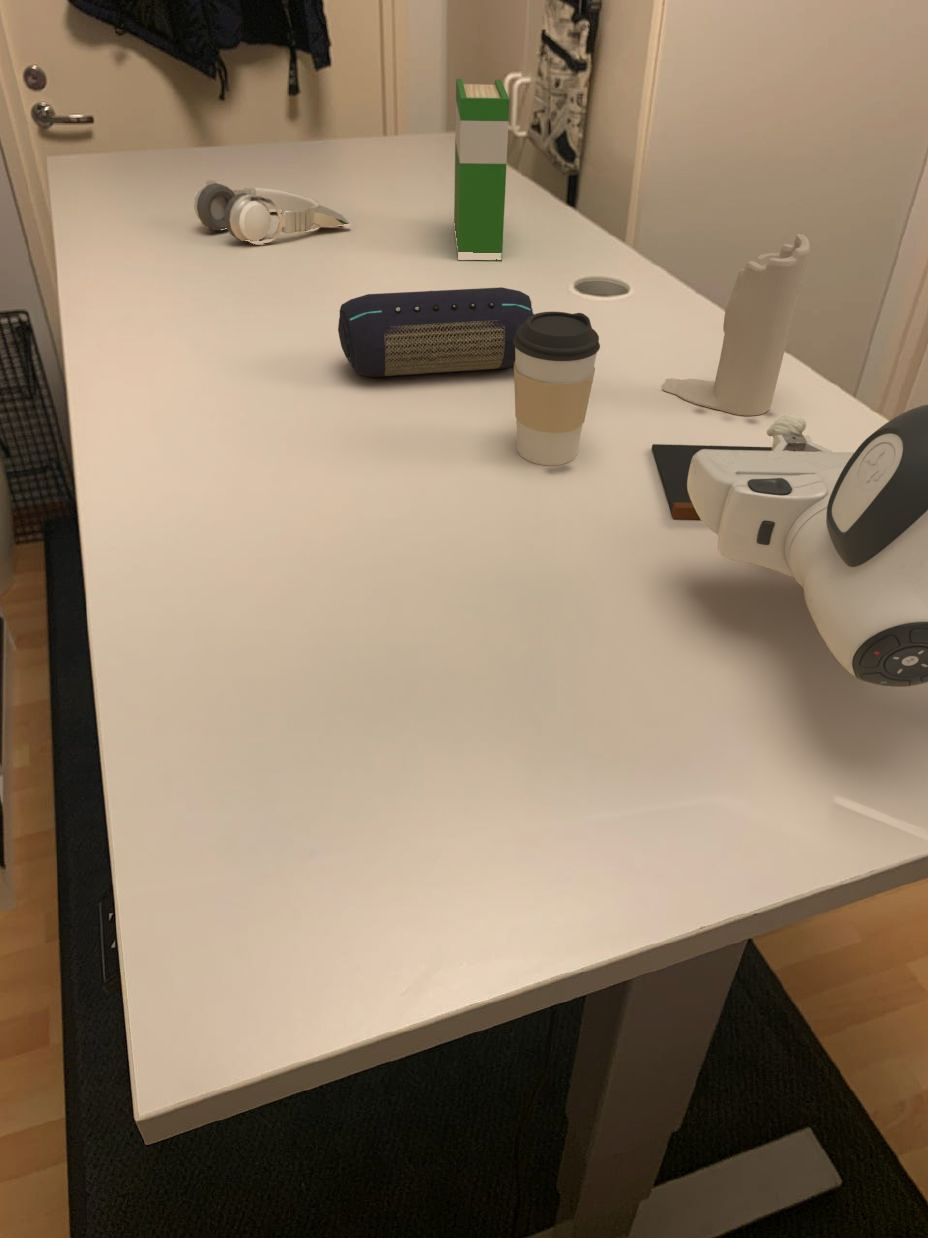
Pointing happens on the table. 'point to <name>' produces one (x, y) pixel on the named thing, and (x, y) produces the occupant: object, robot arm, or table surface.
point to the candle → (752, 334)
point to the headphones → (259, 211)
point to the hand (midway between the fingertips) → (789, 441)
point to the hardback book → (480, 166)
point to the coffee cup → (553, 384)
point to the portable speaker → (432, 330)
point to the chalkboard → (683, 474)
